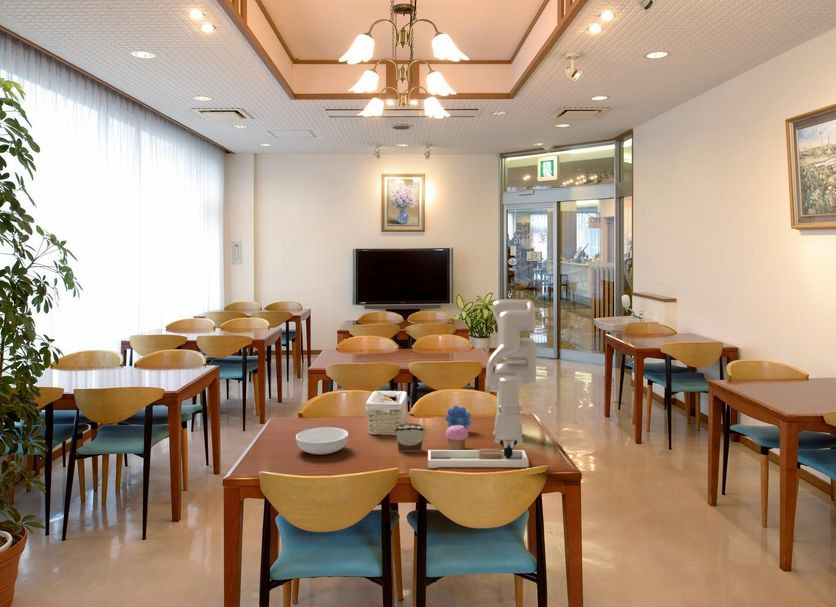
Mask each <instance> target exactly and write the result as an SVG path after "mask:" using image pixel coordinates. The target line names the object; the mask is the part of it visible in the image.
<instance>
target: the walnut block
mask: <svg viewBox="0 0 836 607" xmlns="http://www.w3.org/2000/svg"><path fill="white" fill-rule="evenodd" d="M478 450H479V459H502V453H501V450H502V449H501V448H479V449H478Z"/></svg>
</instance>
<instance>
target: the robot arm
mask: <svg viewBox="0 0 836 607" xmlns="http://www.w3.org/2000/svg"><path fill="white" fill-rule="evenodd" d="M491 309H492V310H491V311H492V314H493V318H494V319H495V321H496V323H497V348H496V349H495V351H493V353H491V355H490V356H489V358H488V360H487V364H486V367H485V368H486V375H485V376H486V377H485V379H486V380H485V385H486V388H487V390H488V391H490V392H492V393H496V412H495V413H496V414H495V420H494V430H493V431H492V433H493V434H492V435H493V436H494V438H493V442H494V443H497V444H499V445H501V446H502V447H503V450H504V456H506V459H508V457H509V459H511V456H512V450H513V448H514V447H515V446H516V445H517V444H521V443H523V424H522V422H523V421H522V415H521V413H520V411H523V409H524V408H523V407H524V406H520V391H522V390H523V388H524V386H532V385H534V384H535V383H536V379H537V345H536V341H535V340H534V339H533V338H532V337H531V338H530V337H520V334H521V333H520V332H533V330H534V329H535V326H536V309H535V303H534V301H532V300H531V299H515V298H514V299H513V298H512V299H511V298H507V299H505V298H503V299H497V300H494V301H493V302H492V307H491ZM501 359H503V360H508V362H506V361H505V362H501V363H498V364H497V365H496V363H497V362H498V361H500V360H501ZM509 360H510V361H525V362H509ZM495 365H496V366H495ZM494 366H495V368H494ZM507 441H509V444H507Z"/></svg>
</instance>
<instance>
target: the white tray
mask: <svg viewBox="0 0 836 607" xmlns="http://www.w3.org/2000/svg"><path fill="white" fill-rule="evenodd" d="M500 450H501V453H502V459H479V449H462V450H452V449H428V450H427V454H428V455H427V469H439V468H529V466H530V463H529V459H528V457H527V455H526V451H525V450H524V449H512V456H511V459H509V457H508V459H506V456H504V449H500Z"/></svg>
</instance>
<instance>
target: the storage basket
mask: <svg viewBox="0 0 836 607" xmlns="http://www.w3.org/2000/svg"><path fill="white" fill-rule="evenodd" d="M407 393H408V392H406V390H403V391H402V390H374V391H373V392H372V393H371V394H370V396H369V397H368V399H367V401H366V402H365V406H366V407H365V410H366V415H367V418H366V419H367V426H368V434H370V435H377V434H380V435H382V436H391V435H392V436H396V431H395V428H396V426H397V425H399V424H403V423H407V422H406V421H407V400H408V395H407ZM386 397H387V398H388V397H389V398H396V400H385V398H386ZM394 431H395V432H394Z"/></svg>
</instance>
